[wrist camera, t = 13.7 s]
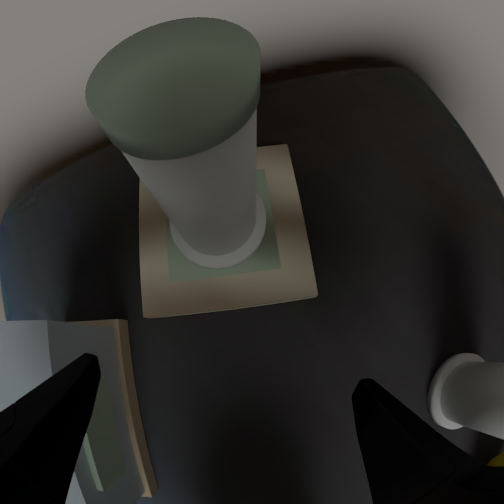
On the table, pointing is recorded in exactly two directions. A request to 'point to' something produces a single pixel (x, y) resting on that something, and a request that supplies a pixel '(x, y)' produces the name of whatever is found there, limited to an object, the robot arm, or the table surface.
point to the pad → (240, 276)
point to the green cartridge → (189, 130)
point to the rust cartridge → (468, 394)
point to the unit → (105, 408)
